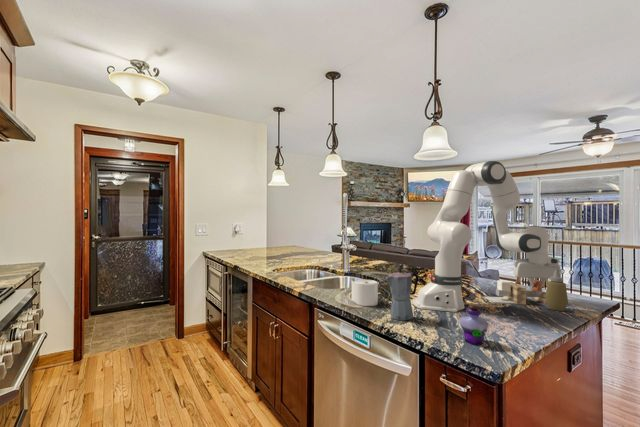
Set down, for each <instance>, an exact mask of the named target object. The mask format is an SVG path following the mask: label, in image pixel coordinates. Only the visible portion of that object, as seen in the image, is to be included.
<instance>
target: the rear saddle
mask: <svg viewBox="0 0 640 427" xmlns="http://www.w3.org/2000/svg"><path fill="white" fill-rule="evenodd" d="M545 298H546V291H542V297H534V300H535V301H537V302H539V303H542V304H545V305H547V303H546V300H545Z"/></svg>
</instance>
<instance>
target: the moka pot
mask: <svg viewBox="0 0 640 427" xmlns="http://www.w3.org/2000/svg"><path fill="white" fill-rule="evenodd" d="M413 277H414V278H415V279H414V286H413V290H412V282H413V280H412V279H413ZM419 279H420V277H419V275H418V274H417V272H415V271H412V272H407V273H406V272H402V268H401V267H400V268H399V267H398V268H397V272H393V273H392V272H391V273H389V274H388V275H387V276H386V277H385V280H387V282H388V284H389V288H390V293H391V307H390V308H391V309H390V317H391V318H392V319H394V320H397V321H410V320H412V319H413V318H414V312H413V307H412V302H411V296H413V295H416V291H417V287H418V283H419ZM411 291H412V292H411Z"/></svg>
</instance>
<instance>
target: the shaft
mask: <svg viewBox="0 0 640 427" xmlns="http://www.w3.org/2000/svg"><path fill="white" fill-rule="evenodd" d="M532 281H533V283H535V284H536V285H535V286H536V287H531V289H530V288H529V289H528V288H526V298H535V297H542V292H543V287H542V281H541V280H540V279H538V278H533V280H532ZM495 295H496V296H497V297H504V296H511V297H512V289H511V291H503V290H500V289H498V288H495Z"/></svg>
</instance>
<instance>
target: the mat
mask: <svg viewBox="0 0 640 427" xmlns="http://www.w3.org/2000/svg"><path fill="white" fill-rule="evenodd" d="M484 297H485V298H484V299H486V300H488V301H490V302H491V303H493V304H509V305H510V304H514V305H517V304H516V303H515V302H513V301H511V300H509V299H507V298H505V297H504V296H484Z"/></svg>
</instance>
